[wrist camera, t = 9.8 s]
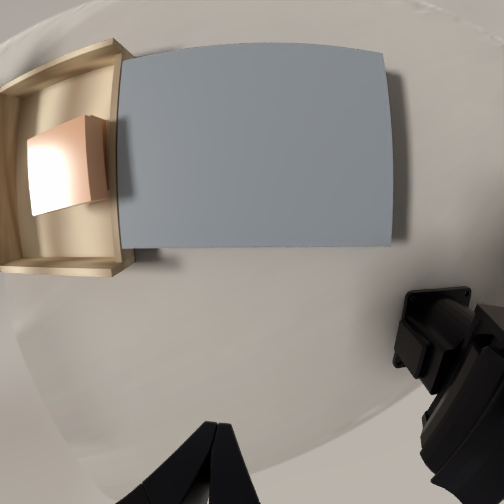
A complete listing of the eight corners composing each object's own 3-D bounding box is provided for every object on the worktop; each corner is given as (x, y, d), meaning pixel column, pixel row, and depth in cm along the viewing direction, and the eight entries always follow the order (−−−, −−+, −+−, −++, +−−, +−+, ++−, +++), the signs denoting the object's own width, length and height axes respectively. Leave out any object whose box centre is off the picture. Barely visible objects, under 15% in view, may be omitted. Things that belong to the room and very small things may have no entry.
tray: (134, 56, 16) (113, 38, 13) (135, 262, 19) (112, 277, 16) (22, 96, 17) (-4, 89, 13) (24, 261, 20) (-2, 271, 16)
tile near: (101, 120, 15) (84, 114, 13) (108, 198, 16) (90, 200, 14) (45, 142, 15) (27, 140, 13) (51, 212, 16) (32, 216, 14)
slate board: (370, 66, 16) (382, 53, 13) (375, 238, 18) (390, 246, 16) (137, 73, 16) (122, 61, 14) (138, 241, 19) (122, 248, 16)
